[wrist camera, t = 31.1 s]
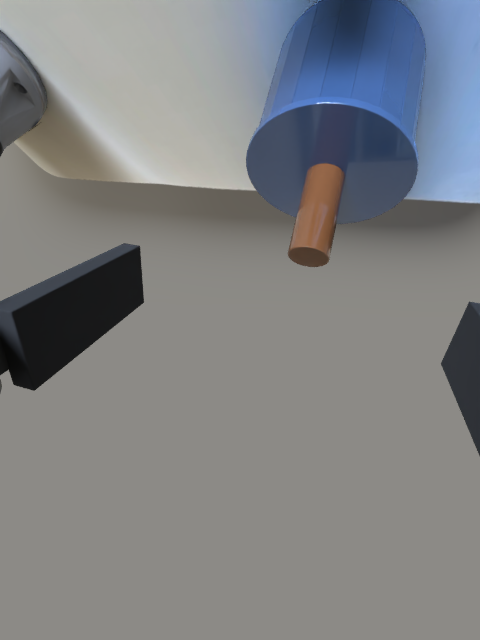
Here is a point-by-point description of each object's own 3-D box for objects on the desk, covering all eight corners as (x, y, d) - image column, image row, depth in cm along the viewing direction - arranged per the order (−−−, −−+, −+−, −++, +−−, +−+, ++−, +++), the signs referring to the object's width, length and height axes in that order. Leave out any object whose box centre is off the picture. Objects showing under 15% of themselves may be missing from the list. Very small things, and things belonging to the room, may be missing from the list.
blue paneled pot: (251, 56, 31) (222, 147, 29) (388, -58, 22) (364, 61, 19) (323, 148, 39) (306, 226, 37) (445, 93, 30) (434, 191, 27)
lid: (217, 141, 29) (188, 229, 27) (372, 45, 19) (346, 172, 17) (305, 225, 38) (289, 297, 35) (443, 189, 28) (432, 286, 26)
